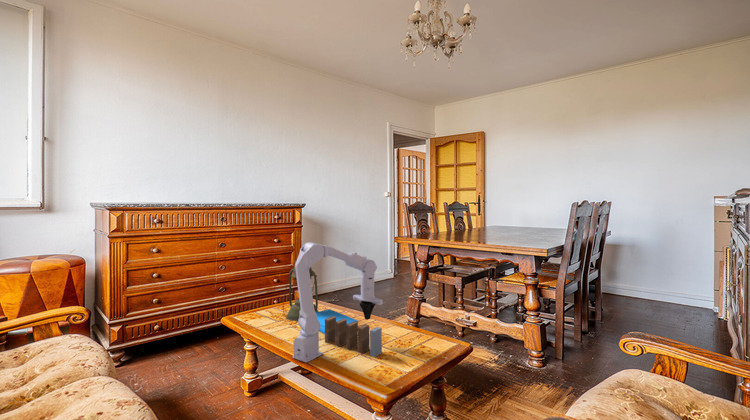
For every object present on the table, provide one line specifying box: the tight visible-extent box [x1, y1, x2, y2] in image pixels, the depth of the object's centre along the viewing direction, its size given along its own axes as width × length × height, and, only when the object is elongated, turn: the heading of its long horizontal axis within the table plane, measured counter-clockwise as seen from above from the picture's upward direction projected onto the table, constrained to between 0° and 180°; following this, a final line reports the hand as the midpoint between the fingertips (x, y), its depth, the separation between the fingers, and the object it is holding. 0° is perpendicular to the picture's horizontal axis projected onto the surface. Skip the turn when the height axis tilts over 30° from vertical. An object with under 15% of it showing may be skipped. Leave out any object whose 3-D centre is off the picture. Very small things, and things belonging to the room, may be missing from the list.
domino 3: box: [345, 321, 359, 351], centre depth 146 cm, size 2×5×10 cm, turn 145°
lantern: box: [282, 259, 319, 322], centre depth 188 cm, size 21×18×30 cm
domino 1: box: [324, 316, 336, 344], centre depth 153 cm, size 2×5×10 cm, turn 145°
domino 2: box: [334, 319, 347, 348], centre depth 149 cm, size 2×5×10 cm, turn 145°
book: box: [316, 308, 359, 335], centre depth 173 cm, size 17×4×25 cm
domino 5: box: [369, 326, 383, 358], centre depth 139 cm, size 2×5×10 cm, turn 144°
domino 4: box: [357, 323, 370, 354], centre depth 142 cm, size 2×5×10 cm, turn 145°
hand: (367, 318), depth 150 cm, fingers closed
